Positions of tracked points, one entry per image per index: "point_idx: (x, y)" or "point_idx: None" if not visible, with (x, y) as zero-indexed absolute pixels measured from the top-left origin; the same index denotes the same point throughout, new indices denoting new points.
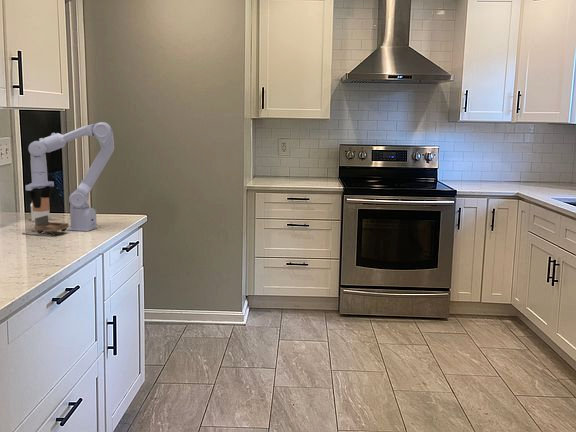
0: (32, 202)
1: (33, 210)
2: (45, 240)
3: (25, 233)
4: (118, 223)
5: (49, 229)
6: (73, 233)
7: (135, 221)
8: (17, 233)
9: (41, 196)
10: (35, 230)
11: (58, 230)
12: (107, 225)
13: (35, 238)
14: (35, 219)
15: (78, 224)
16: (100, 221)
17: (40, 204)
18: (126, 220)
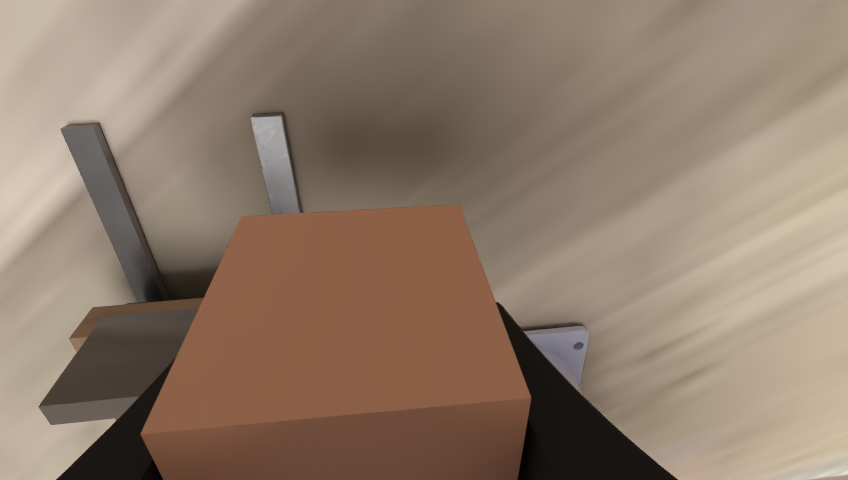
0: (190, 342)
1: (243, 237)
2: (49, 432)
3: (83, 168)
4: (728, 447)
5: None
6: None
7: (792, 477)
8: (69, 26)
9: (538, 465)
10: (266, 153)
11: None
12: (656, 437)
13: (41, 344)
14: (50, 397)
15: None
16: (821, 333)
17: None
18: (836, 432)
